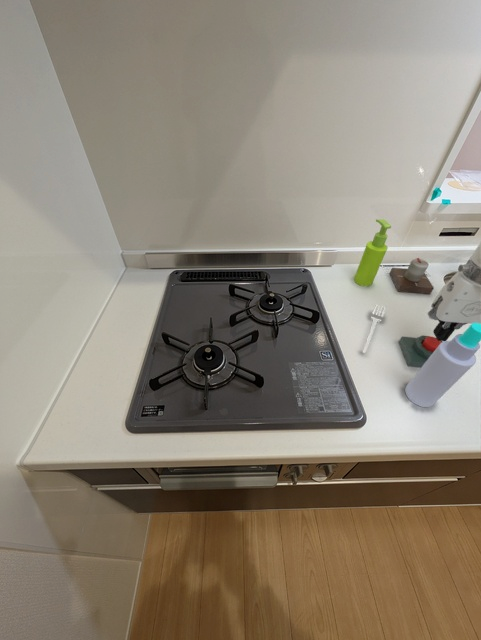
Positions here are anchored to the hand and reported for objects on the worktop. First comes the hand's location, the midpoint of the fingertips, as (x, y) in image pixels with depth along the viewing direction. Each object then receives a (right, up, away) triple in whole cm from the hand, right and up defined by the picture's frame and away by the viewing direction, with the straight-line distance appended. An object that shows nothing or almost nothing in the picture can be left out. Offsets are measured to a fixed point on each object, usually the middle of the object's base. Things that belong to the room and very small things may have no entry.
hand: (439, 336), depth 65 cm
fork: (-10, +1, +12) cm, 16 cm away
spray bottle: (-7, -13, -3) cm, 15 cm away
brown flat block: (+9, +16, +26) cm, 32 cm away
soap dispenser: (-6, +17, +28) cm, 33 cm away
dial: (+9, +18, +25) cm, 32 cm away
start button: (0, -3, +2) cm, 4 cm away
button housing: (-1, -5, +5) cm, 7 cm away
